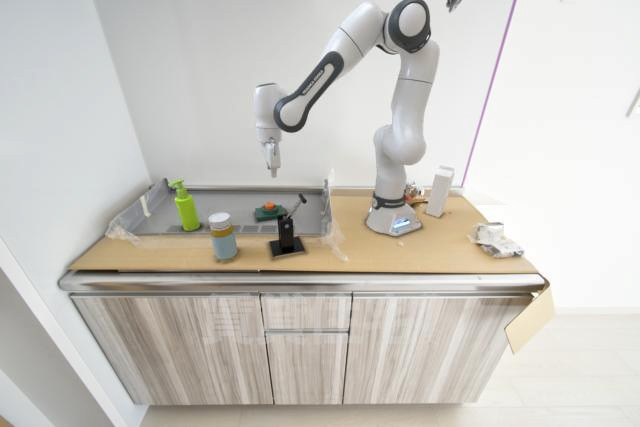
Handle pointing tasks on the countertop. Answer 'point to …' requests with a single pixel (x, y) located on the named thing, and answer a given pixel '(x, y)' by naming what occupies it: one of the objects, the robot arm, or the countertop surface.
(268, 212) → the button block
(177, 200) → the soap dispenser
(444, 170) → the milk
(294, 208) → the lever
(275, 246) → the bracket
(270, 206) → the button
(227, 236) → the bottle
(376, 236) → the countertop surface
